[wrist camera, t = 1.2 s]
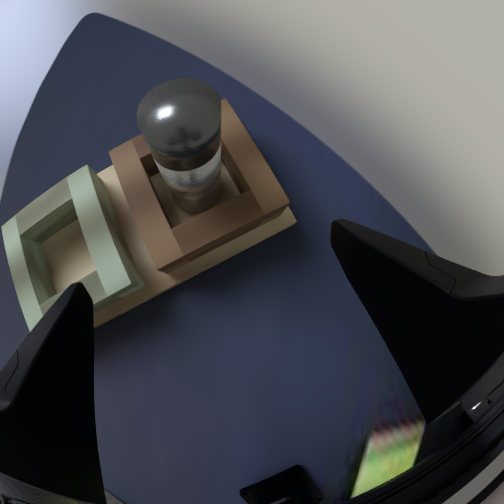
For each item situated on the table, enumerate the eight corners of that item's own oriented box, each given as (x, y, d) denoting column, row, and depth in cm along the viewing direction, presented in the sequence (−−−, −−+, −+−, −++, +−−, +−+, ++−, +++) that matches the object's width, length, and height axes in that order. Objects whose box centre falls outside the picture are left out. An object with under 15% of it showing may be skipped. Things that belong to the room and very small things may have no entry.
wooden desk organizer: (294, 224, 24) (309, 208, 19) (58, 347, 20) (30, 355, 16) (229, 116, 25) (231, 87, 20) (20, 233, 21) (-7, 222, 17)
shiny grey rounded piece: (229, 200, 22) (236, 121, 12) (184, 222, 22) (152, 157, 11) (208, 160, 23) (201, 68, 12) (165, 181, 22) (127, 99, 11)
